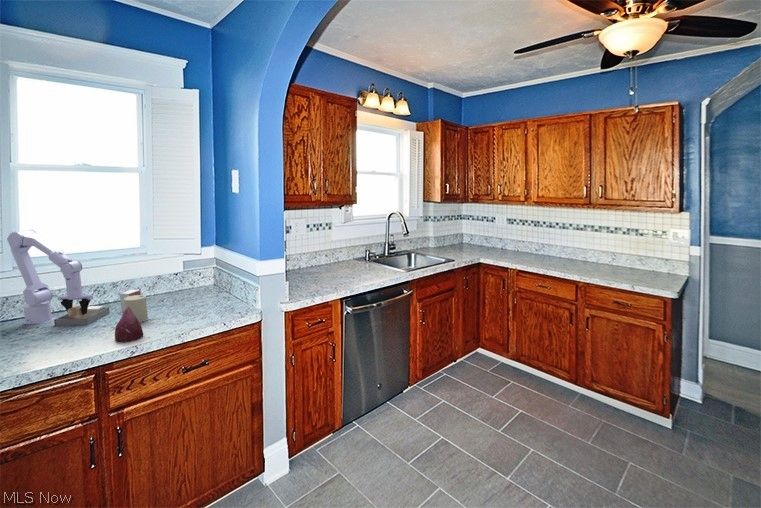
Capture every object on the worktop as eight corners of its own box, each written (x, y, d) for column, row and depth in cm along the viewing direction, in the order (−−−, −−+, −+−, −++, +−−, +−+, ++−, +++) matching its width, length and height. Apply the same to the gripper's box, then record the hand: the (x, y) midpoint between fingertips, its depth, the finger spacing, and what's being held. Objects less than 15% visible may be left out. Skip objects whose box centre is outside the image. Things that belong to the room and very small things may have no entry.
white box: (76, 317, 196) (75, 309, 195) (82, 314, 201) (81, 306, 200) (98, 316, 197) (97, 308, 196) (104, 313, 201) (103, 306, 201)
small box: (130, 313, 203) (128, 293, 201) (121, 313, 204) (119, 293, 202) (142, 309, 211) (140, 289, 209) (133, 308, 212) (131, 289, 210)
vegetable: (124, 341, 176) (121, 307, 177) (148, 337, 177) (144, 304, 178) (109, 344, 166) (105, 309, 167) (135, 341, 167) (131, 305, 168)
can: (151, 320, 194) (148, 296, 192) (129, 325, 187) (126, 300, 185) (144, 315, 200) (142, 292, 198) (123, 320, 194) (121, 296, 191)
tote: (55, 327, 184) (54, 319, 184) (80, 314, 202) (79, 307, 201) (87, 326, 185) (86, 319, 185) (109, 313, 203) (108, 307, 202)
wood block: (69, 323, 187) (67, 309, 186) (77, 319, 193) (75, 305, 191) (79, 323, 187) (77, 309, 186) (87, 319, 193) (85, 305, 192)
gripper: (51, 289, 182) (55, 317, 185) (84, 288, 184) (88, 316, 186) (62, 285, 189) (66, 312, 192) (94, 284, 191) (97, 311, 193)
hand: (77, 314), depth 189 cm, fingers open, 6 cm apart
